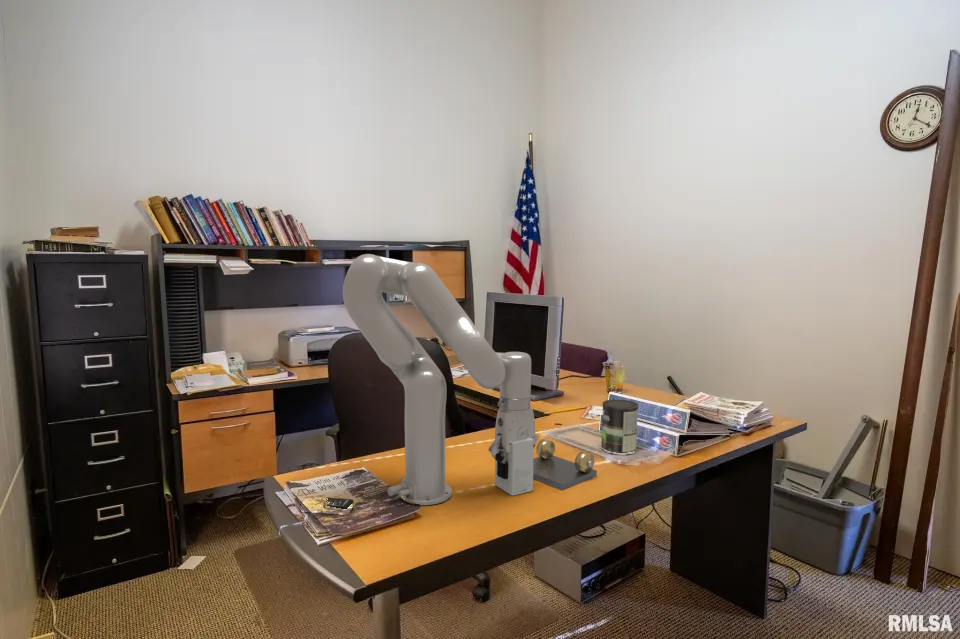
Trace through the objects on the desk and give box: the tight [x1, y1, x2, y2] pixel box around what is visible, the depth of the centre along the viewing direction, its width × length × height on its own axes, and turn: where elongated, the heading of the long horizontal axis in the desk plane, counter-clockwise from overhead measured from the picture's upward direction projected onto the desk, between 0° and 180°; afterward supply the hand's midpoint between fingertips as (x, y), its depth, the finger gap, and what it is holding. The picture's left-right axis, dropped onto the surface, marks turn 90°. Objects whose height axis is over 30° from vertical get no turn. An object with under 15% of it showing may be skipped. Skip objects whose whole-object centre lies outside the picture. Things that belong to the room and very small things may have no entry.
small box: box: [494, 438, 535, 496], centre depth 140 cm, size 8×6×13 cm
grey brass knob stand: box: [533, 438, 598, 491], centre depth 150 cm, size 14×18×6 cm
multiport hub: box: [326, 497, 354, 509], centre depth 128 cm, size 4×11×2 cm, turn 80°
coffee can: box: [601, 398, 639, 453], centre depth 169 cm, size 10×10×14 cm
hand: (513, 473), depth 140 cm, fingers closed on small box, 7 cm apart
